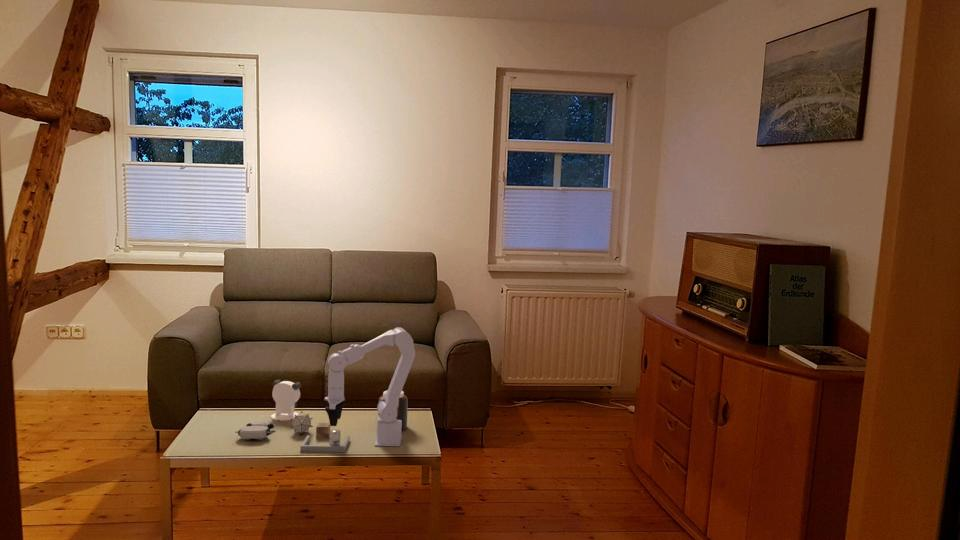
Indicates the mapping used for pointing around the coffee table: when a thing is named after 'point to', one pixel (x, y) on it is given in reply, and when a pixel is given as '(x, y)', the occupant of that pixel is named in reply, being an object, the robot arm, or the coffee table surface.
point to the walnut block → (322, 430)
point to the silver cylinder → (334, 437)
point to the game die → (301, 422)
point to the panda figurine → (285, 399)
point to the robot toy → (255, 430)
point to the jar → (400, 409)
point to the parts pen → (323, 446)
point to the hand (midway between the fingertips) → (335, 422)
